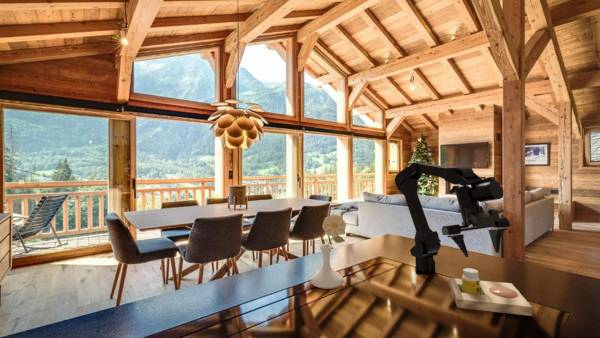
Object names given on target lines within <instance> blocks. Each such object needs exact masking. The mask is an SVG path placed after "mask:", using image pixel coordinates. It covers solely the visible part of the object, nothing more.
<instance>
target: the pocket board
mask: <svg viewBox="0 0 600 338" xmlns="http://www.w3.org/2000/svg"><path fill="white" fill-rule="evenodd" d="M448 287H449V288H450V291H451V294H452V296H453V300H454V302H455V304H456V307H457V308H459V309H466V310H476V311H482V312H483V311H484V312H493V313H500V314H501V313H502V314H503V313H504V314H508V315H509V314H512V315H519V316H521V315H522V316H528V317H533V306H532V305H531V304H530V303H529V302H528V301H527V299H526V298H525V297H524V296H523V295H522V294H521V293H520V291H519V290H518V288H516V286H514V284H513V283H511V282H501V281H489V280H487V281H486V280H480V294H469V293H462V278H457V277H456V278H454V277H453V278H452V277H449V278H448ZM490 287H505V288H509V289H512V290H514V291H515V292H517V294H518V296H517V297H514V298H506V297H501V296H497V295H495V294H493V293H491V292H490V291H489V288H490Z"/></svg>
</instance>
